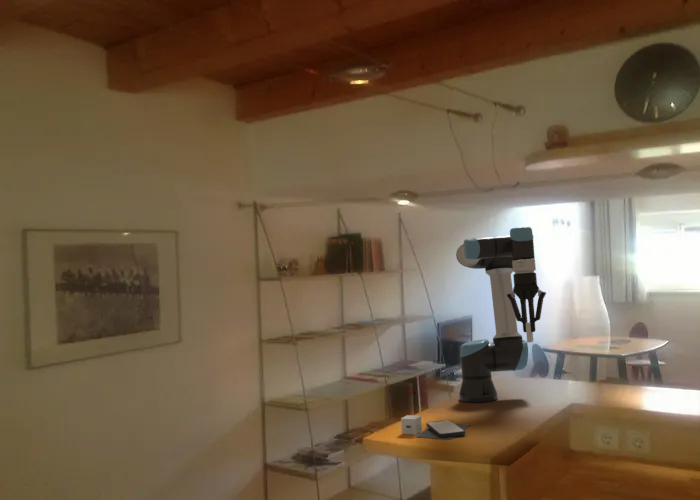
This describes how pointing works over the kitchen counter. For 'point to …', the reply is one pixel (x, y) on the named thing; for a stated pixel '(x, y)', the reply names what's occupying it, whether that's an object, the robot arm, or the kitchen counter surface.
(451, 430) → the phone case
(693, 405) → the kitchen counter surface
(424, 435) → the charging mat
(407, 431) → the charger block
